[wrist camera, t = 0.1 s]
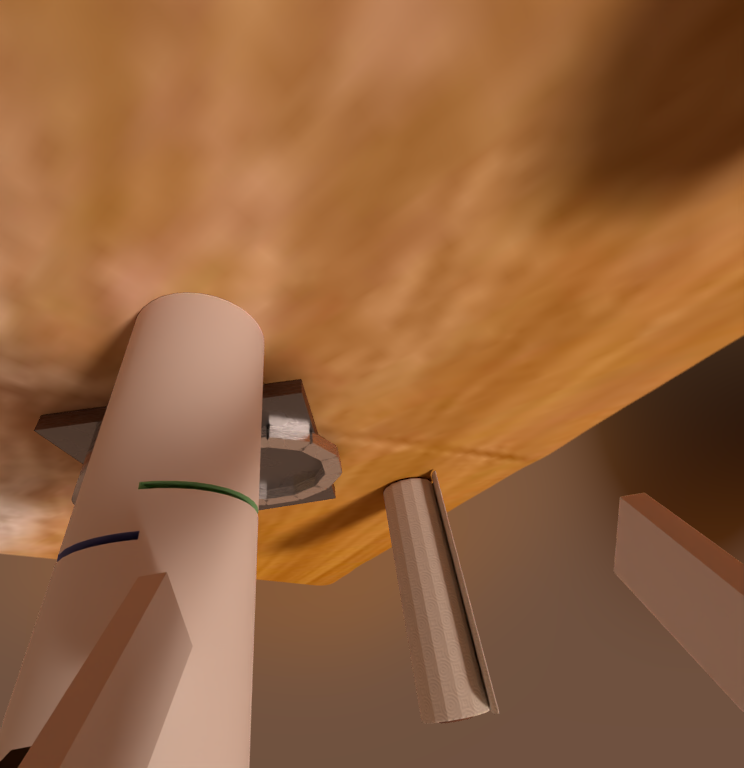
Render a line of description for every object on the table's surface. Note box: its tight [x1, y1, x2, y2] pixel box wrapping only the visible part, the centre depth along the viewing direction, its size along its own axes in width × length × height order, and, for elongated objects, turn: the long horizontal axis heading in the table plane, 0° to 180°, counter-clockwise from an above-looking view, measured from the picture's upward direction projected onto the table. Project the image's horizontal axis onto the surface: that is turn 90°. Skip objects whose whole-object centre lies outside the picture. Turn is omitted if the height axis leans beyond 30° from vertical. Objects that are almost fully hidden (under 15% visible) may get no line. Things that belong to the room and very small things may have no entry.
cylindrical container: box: [0, 293, 264, 768], centre depth 16 cm, size 7×7×25 cm
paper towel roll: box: [383, 471, 499, 723], centre depth 40 cm, size 7×6×21 cm
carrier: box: [34, 379, 342, 510], centre depth 32 cm, size 20×20×8 cm
